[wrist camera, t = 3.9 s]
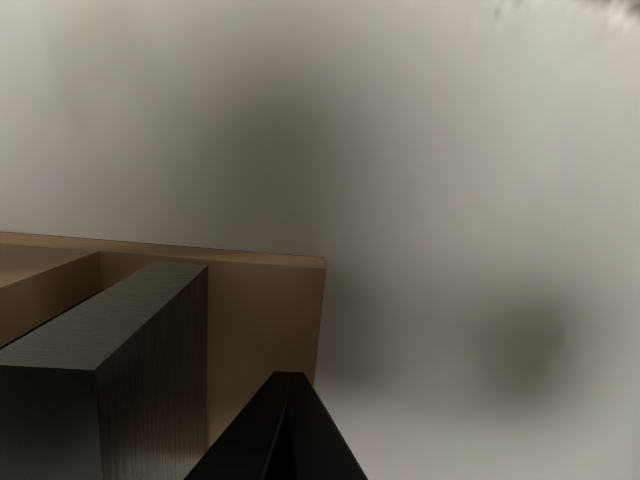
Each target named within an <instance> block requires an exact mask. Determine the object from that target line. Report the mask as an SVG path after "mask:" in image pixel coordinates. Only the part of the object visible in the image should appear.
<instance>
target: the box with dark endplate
mask: <svg viewBox="0 0 640 480" xmlns="http://www.w3.org/2000/svg"><path fill="white" fill-rule="evenodd" d="M207 332H208V265H204V264H191V263H178V262H165V261H154V262H153V263H151V264H149V265H147V266H146V267H144V268H142V269H140V270H139V271H137V272H135V273H133V274H132V275H130V276H128V277H126V278H125V279H123V280H121V281H120V282H118V283H116V284H114V285H113V286H111V287H109V288H107V289H106V290H104V291H102V292H100V293H99V294H97V295H95V296H93V297H92V298H90V299H88V300H86V301H85V302H83V303H81V304H79V305H78V306H76V307H74V308H73V309H71V310H69V311H67V312H61V313H60V314H58V315H56V316H54V317H53V318H51V319H49V320H47V321H45V322H44V323H42V324H40V325H38V326H37V327H35V328H33V329H31V330H30V331H28V332H26V333H24V334H22V335H21V336H19V337H17V338H15V339H14V340H12V341H10V342H8V343H7V344H5V345H3V346H1V347H0V480H183V479H184V478H185V477H186V476H187V474H188V473H189V472H190V471H191V470H192V468H193V467H194V466H195V465H196V464H197V463H198V461H199V460H200V459H201V458H202V457H203V455H204V454H205V453H206V407H207Z"/></svg>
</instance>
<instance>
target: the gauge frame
mask: <svg viewBox="0 0 640 480" xmlns="http://www.w3.org/2000/svg"><path fill="white" fill-rule="evenodd" d="M154 261H165V262H178V263H191V264H204V265H208V332H207V407H206V452H207V451H208V449H209V448H210V447H211V446H212V445H213V443H214V442H215V441H216V440H217V439H218V437H219V436H220V435H221V434H222V433H223V431H224V430H225V429H226V428H227V427H228V425H229V424H230V423H231V422H232V421H233V419H234V418H235V417H236V416H237V415H238V414H239V412H240V411H241V410H242V409H243V408H244V406H245V405H246V404H247V403H248V402H249V400H250V399H251V398H252V397H253V396H254V394H255V393H256V392H257V391H258V390H259V388H260V387H261V386H262V385H263V384H264V382H265V381H266V380H267V379H268V378H269V376H270V375H271V374H272V373H273V372H274V371H288V372H303V373H305V374H306V376H307V378H308V379H309V381H310V383H311V384H312V386H313V385H314V376H315V366H316V356H317V346H318V337H319V327H320V317H321V307H322V298H323V288H324V278H325V263H324V258H322V257H310V256H297V255H285V254H272V253H260V252H247V251H235V250H222V249H210V248H197V247H184V246H172V245H159V244H147V243H134V242H122V241H109V240H97V239H84V238H72V237H59V236H47V235H34V234H22V233H9V232H0V347H1V346H3V345H5V344H7V343H8V342H10V341H12V340H14V339H15V338H17V337H19V336H21V335H22V334H24V333H26V332H28V331H30V330H31V329H33V328H35V327H37V326H38V325H40V324H42V323H44V322H45V321H47V320H49V319H51V318H53V317H54V316H56V315H58V314H60V313H61V312H67V311H69V310H71V309H73V308H74V307H76V306H78V305H79V304H81V303H83V302H85V301H86V300H88V299H90V298H92V297H93V296H95V295H97V294H99V293H100V292H102V291H104V290H106V289H107V288H109V287H111V286H113V285H114V284H116V283H118V282H120V281H121V280H123V279H125V278H126V277H128V276H130V275H132V274H133V273H135V272H137V271H139V270H140V269H142V268H144V267H146V266H147V265H149V264H151V263H153V262H154Z"/></svg>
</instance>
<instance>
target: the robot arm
mask: <svg viewBox="0 0 640 480" xmlns="http://www.w3.org/2000/svg"><path fill="white" fill-rule="evenodd" d="M183 480H368V478H367V477H366V475H365V473H364V472H363V470H362V468H361V467H360V465H359V463H358V462H357V460H356V458H355V457H354V455H353V453H352V452H351V450H350V448H349V446H348V445H347V443H346V441H345V440H344V438H343V436H342V435H341V433H340V431H339V430H338V428H337V426H336V425H335V423H334V421H333V420H332V418H331V416H330V415H329V413H328V411H327V409H326V408H325V406H324V404H323V403H322V401H321V399H320V398H319V396H318V394H317V393H316V391H315V389H314V388H313V386H312V384H311V383H310V381H309V379H308V378H307V376H306V374H305V373H303V372H288V371H274V372H273V373H272V374H271V375H270V376H269V378H268V379H267V380H266V381H265V382H264V384H263V385H262V386H261V387H260V388H259V390H258V391H257V392H256V393H255V394H254V396H253V397H252V398H251V399H250V400H249V402H248V403H247V404H246V405H245V406H244V408H243V409H242V410H241V411H240V412H239V414H238V415H237V416H236V417H235V418H234V419H233V421H232V422H231V423H230V424H229V425H228V427H227V428H226V429H225V430H224V431H223V433H222V434H221V435H220V436H219V437H218V439H217V440H216V441H215V442H214V443H213V445H212V446H211V447H210V448H209V449H208V451H207V452H206V453H205V454H204V455H203V457H202V458H201V459H200V460H199V461H198V463H197V464H196V465H195V466H194V467H193V468H192V470H191V471H190V472H189V473H188V474H187V476H186V477H185V478H184V479H183Z"/></svg>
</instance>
